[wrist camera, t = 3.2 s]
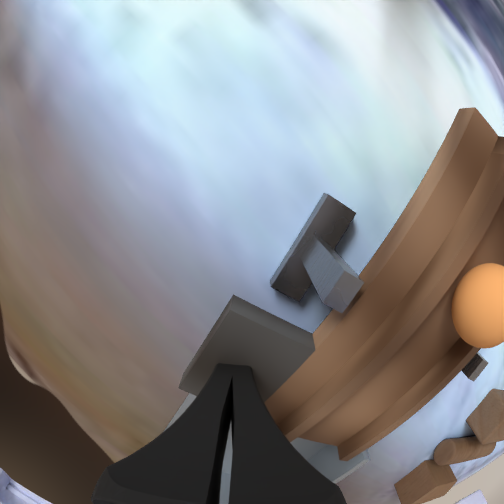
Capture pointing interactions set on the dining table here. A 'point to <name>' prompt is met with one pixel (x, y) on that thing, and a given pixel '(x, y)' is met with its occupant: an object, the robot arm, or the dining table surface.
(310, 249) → the lever stand
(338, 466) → the tray
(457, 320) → the ball
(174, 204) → the dining table surface
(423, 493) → the wooden block set
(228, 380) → the robot arm
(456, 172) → the wooden rack
